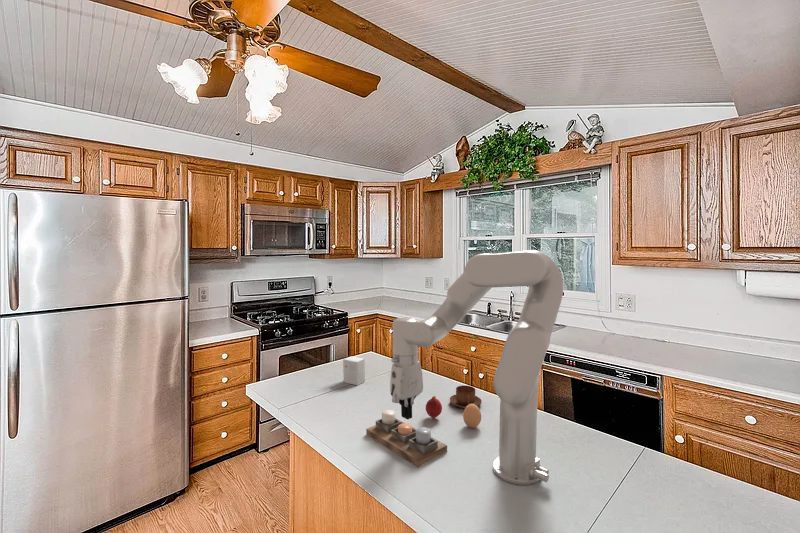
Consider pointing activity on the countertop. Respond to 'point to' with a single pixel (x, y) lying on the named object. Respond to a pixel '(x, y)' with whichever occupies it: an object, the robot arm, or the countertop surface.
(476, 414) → the egg
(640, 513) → the countertop surface
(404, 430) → the terracotta button
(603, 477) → the countertop surface
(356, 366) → the small box
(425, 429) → the grey button
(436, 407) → the red fruit
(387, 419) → the cream button
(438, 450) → the button board
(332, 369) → the countertop surface
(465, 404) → the cup and saucer
